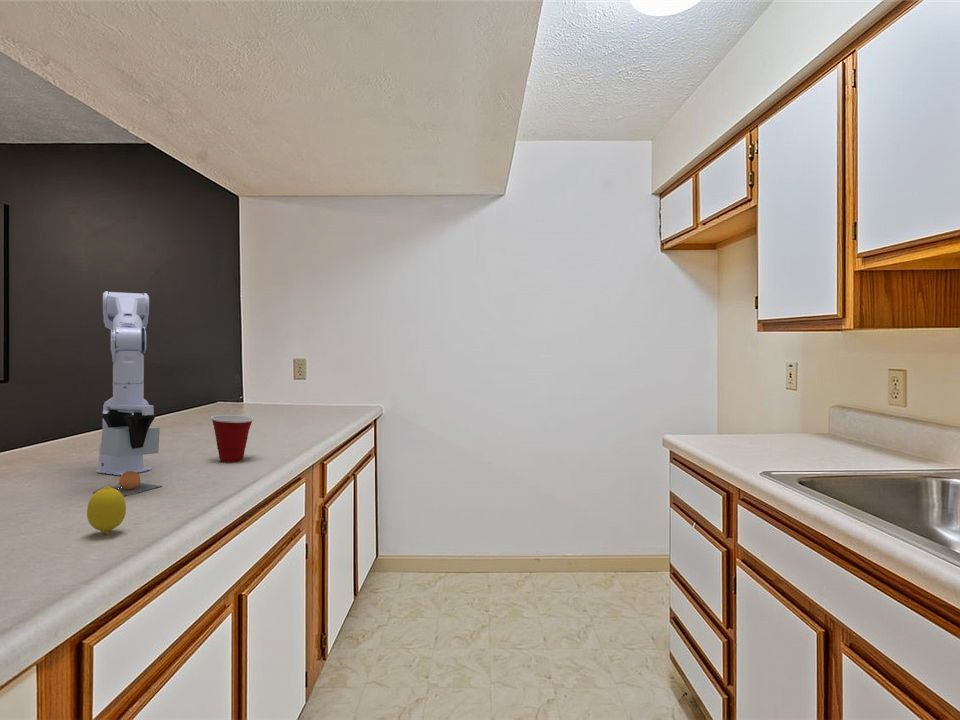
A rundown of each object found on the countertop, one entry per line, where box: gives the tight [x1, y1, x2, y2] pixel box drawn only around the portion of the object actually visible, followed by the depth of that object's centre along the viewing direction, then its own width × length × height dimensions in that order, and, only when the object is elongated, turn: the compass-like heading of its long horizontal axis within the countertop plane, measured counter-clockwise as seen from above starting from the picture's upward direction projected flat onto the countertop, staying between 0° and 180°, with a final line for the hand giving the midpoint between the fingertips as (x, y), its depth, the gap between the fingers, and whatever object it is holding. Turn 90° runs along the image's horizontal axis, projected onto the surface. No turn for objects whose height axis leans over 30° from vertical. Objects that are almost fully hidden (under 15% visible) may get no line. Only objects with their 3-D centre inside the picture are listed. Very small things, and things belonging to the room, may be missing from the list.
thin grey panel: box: [93, 482, 161, 497], centre depth 129 cm, size 8×10×1 cm
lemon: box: [86, 485, 127, 535], centre depth 100 cm, size 6×6×8 cm
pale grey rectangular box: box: [101, 425, 161, 457], centre depth 129 cm, size 6×9×6 cm, turn 152°
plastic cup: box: [210, 414, 255, 463], centre depth 162 cm, size 11×11×12 cm
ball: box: [118, 471, 141, 490], centre depth 129 cm, size 4×4×4 cm
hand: (128, 446), depth 129 cm, fingers closed on pale grey rectangular box, 6 cm apart
